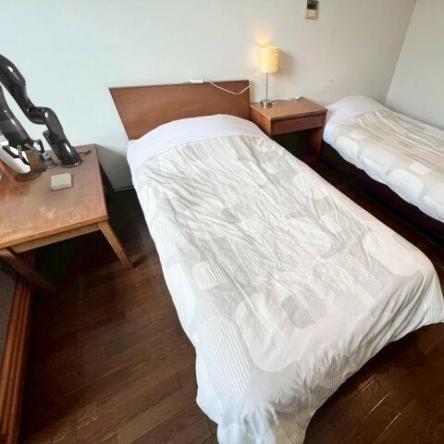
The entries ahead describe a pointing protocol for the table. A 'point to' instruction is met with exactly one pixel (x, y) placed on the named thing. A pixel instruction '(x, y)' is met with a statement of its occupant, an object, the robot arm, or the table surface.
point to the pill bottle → (48, 160)
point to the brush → (35, 163)
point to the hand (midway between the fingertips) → (35, 163)
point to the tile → (61, 181)
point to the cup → (12, 162)
